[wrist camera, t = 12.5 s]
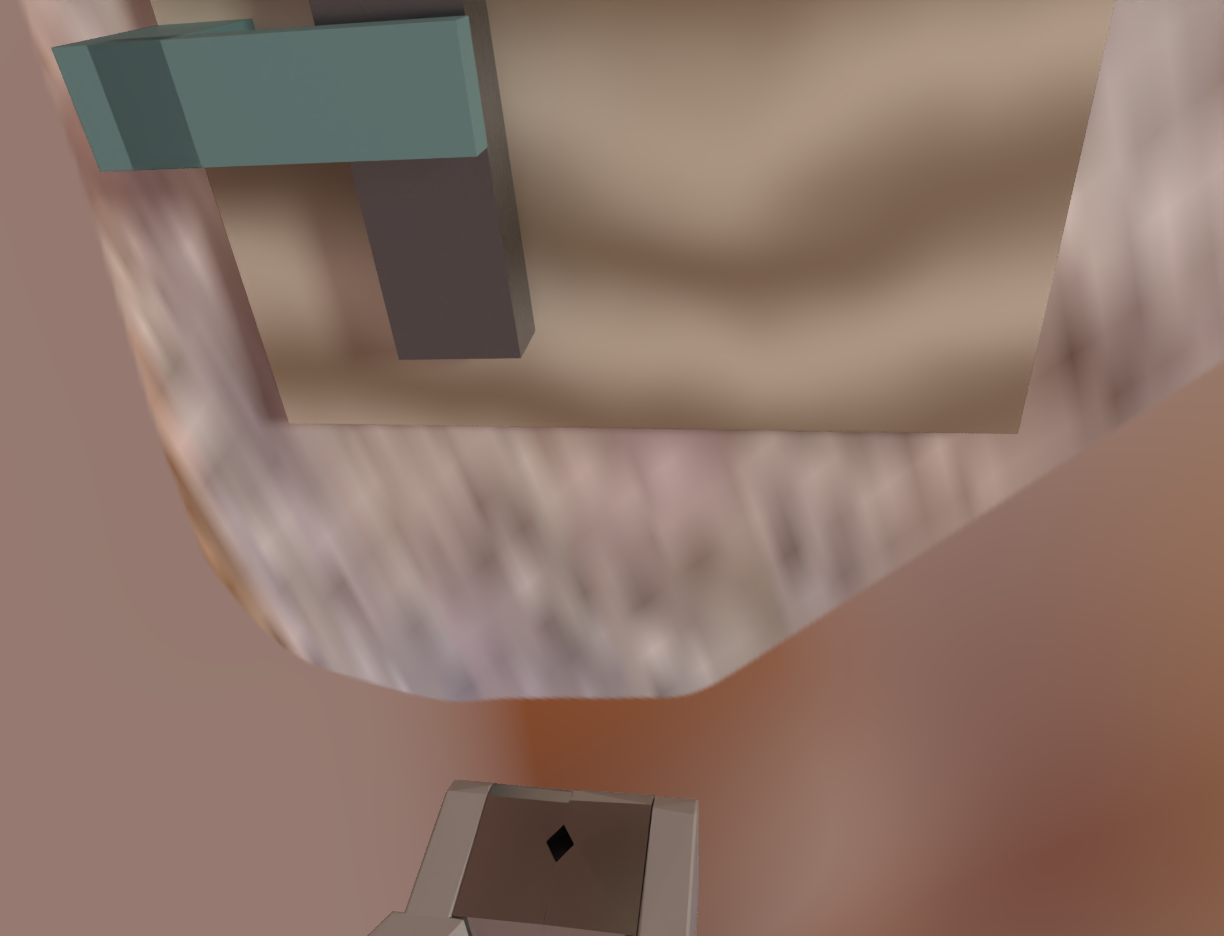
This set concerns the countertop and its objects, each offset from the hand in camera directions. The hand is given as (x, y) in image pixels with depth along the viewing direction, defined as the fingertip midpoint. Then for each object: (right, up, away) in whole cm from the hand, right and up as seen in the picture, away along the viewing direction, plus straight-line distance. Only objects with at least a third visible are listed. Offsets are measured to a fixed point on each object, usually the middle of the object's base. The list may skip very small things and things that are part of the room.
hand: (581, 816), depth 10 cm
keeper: (-8, +16, +14) cm, 23 cm away
